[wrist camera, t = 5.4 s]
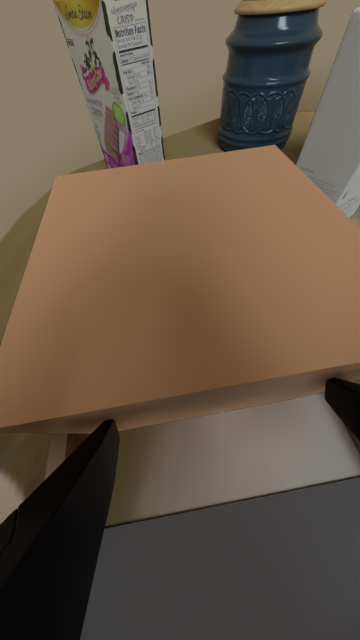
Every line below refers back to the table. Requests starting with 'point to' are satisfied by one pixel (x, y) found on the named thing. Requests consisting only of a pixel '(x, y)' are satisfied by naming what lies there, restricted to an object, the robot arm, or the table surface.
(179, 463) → the table surface
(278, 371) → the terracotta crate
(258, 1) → the canister
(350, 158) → the skincare box
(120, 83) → the candy bar box
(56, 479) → the robot arm
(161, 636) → the tray
